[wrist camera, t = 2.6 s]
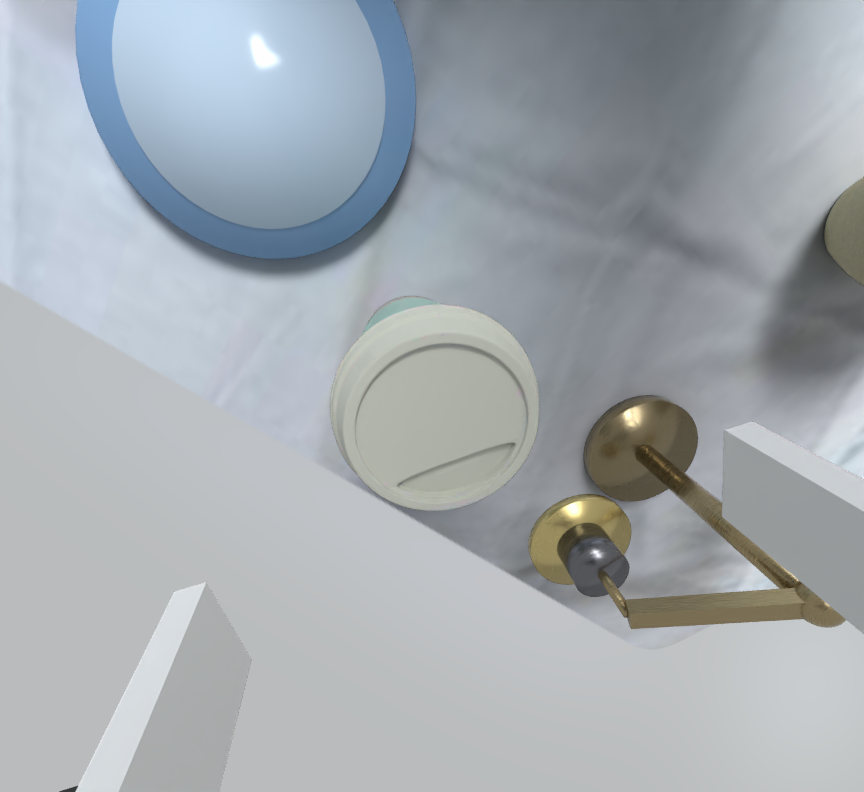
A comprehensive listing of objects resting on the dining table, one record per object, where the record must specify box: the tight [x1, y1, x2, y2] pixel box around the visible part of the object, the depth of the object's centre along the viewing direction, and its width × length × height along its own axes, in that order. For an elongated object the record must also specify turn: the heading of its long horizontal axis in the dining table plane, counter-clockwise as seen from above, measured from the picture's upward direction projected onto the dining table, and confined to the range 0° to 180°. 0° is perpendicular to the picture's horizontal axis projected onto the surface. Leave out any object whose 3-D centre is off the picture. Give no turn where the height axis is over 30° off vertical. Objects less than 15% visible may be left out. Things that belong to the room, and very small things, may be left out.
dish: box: [75, 0, 416, 259], centre depth 22 cm, size 15×15×1 cm
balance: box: [528, 395, 846, 629], centre depth 25 cm, size 8×21×17 cm, turn 104°
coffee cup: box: [330, 296, 539, 511], centre depth 22 cm, size 8×8×12 cm
